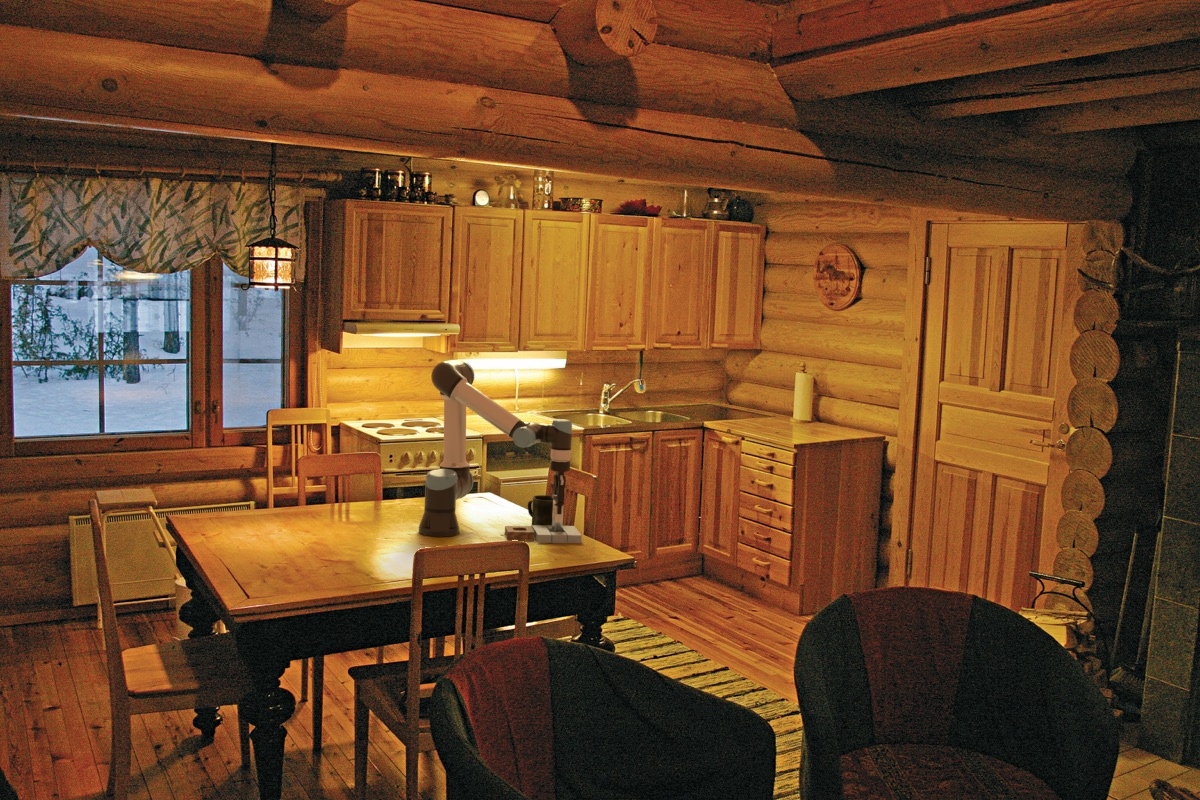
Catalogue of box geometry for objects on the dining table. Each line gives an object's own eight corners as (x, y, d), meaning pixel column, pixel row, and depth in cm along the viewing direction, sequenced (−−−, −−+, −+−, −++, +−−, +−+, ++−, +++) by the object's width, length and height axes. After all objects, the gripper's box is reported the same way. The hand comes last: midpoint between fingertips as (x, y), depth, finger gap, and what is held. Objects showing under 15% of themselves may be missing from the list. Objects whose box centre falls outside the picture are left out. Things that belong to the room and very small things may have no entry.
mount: (507, 539, 399) (508, 531, 399) (504, 533, 409) (505, 525, 409) (534, 540, 401) (534, 532, 401) (530, 534, 411) (531, 526, 411)
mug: (546, 532, 416) (547, 501, 415) (518, 525, 425) (520, 495, 424) (563, 528, 424) (565, 498, 423) (536, 521, 433) (538, 492, 432)
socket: (537, 542, 397) (537, 534, 397) (531, 532, 413) (531, 525, 413) (581, 543, 400) (581, 535, 400) (573, 533, 417) (574, 525, 416)
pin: (551, 534, 404) (553, 496, 402) (549, 531, 408) (551, 493, 407) (564, 534, 405) (566, 496, 403) (562, 531, 409) (564, 494, 408)
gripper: (574, 464, 396) (570, 526, 399) (566, 456, 413) (563, 516, 415) (554, 463, 395) (550, 525, 397) (547, 456, 411) (544, 516, 414)
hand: (557, 520), depth 406 cm, fingers closed on pin, 4 cm apart
